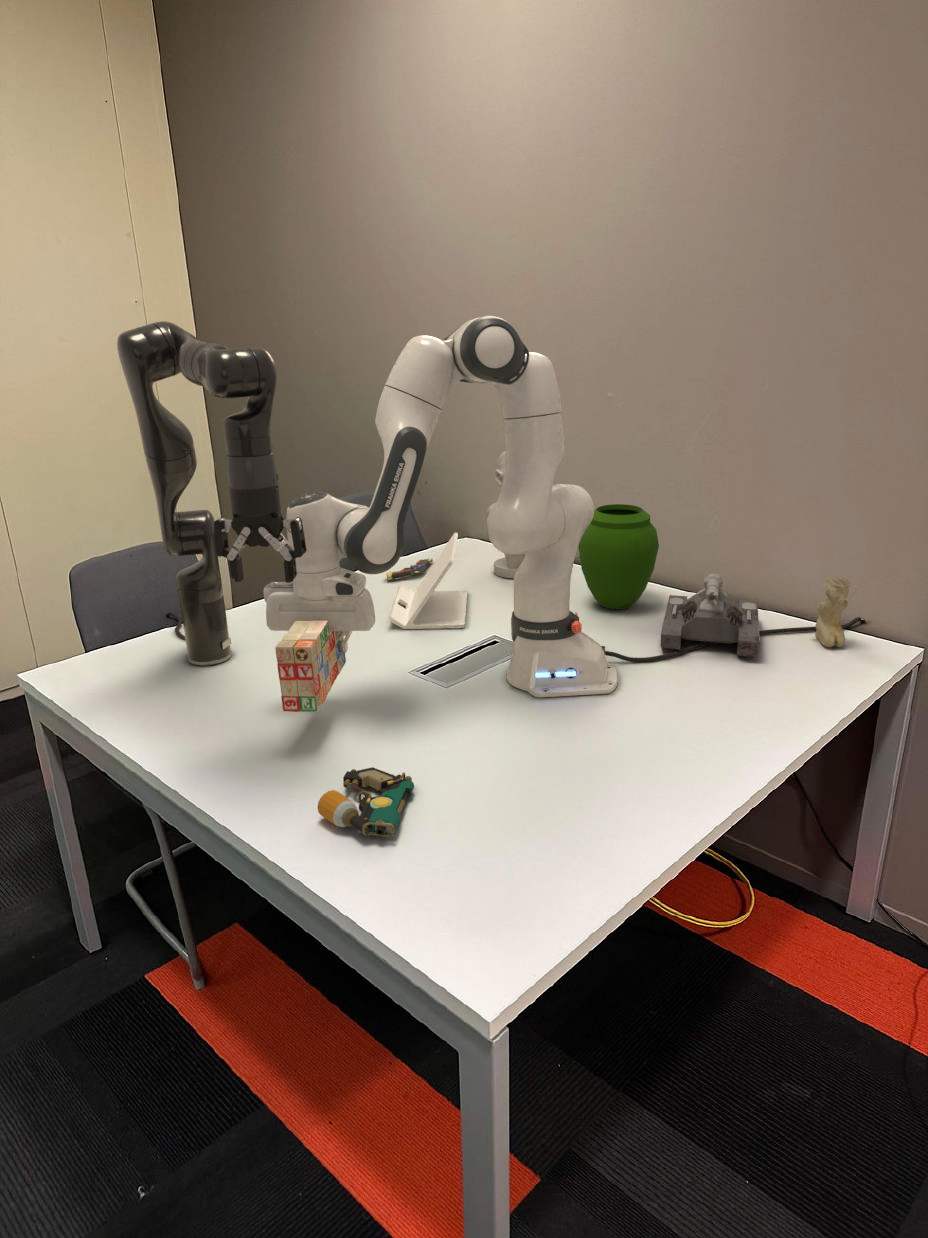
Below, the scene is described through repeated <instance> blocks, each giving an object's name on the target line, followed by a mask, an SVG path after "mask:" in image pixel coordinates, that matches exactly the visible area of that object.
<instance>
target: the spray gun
mask: <svg viewBox="0 0 928 1238" xmlns="http://www.w3.org/2000/svg"><path fill="white" fill-rule="evenodd" d="M342 779H343V780H342V782H343V783H342V784H343V787H344V788H345V789H348V788H349V787H351V789H352V790H353V791H355V792H357V793H358V794H357V800H358V803H359V804H358V807H357V805H356V804H355V803H354V802H353V801H352V800H350V798H348V797H346V796H345V795H344V794H342V793H341V792H340V791H337V790H334V789H332V790H331V789H330V790H328V791H326V792H324V793H323V794H322V795H321V796H320V797H319V799H318V802H317V806H316V807H317V808H316V809H317V812H318V814H319V815H320V817H322V818H324V819H325V820H327V821H329V822H330V823H332V824H333V825H334V826H336V827H340V828H351V827H353V828H355V829H356V830H357V831H358V832H359V833H361V834H362V835H364V836H366V837H367V836H370V835H371V836H378V837H385V838H393V837H394V836H395V833H396V830H397V828H398V826H399V823H400V821H401V818H402V816H401V813H402V811H403V808H404V807H405V805H406V799H407V798H409V797H411V795H412V794H413V792H414V788H415V783H414V781H413V778H412V777H411V776H410V775H406V773H405V772H404V771H403V772H402V773H401V774H397V775H394V774H391V773H389V772H386V771H383V770H381V769H378V768H375V767H374V766H372V767H367V768H363V769H359V770H358V769H355V768H352V769H351V770H350V771H349V770H347V771H346V772H345V774H344V775H343V778H342ZM366 787H371V788H373V789H374V790H375V794H381V795H377V796H372V795H373V794H372V793H371V792H369V791H367V790H365V789H363V788H366ZM362 796H363V797H362ZM358 809H359V811H360V813H359V811H358ZM369 830H370V831H369Z"/></svg>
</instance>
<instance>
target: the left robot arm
mask: <svg viewBox="0 0 928 1238" xmlns="http://www.w3.org/2000/svg"><path fill="white" fill-rule="evenodd" d="M116 348H117V355H118V358H119V359H118V360H119V363H120V365H121V369H122V372H123V375H124V378H125V381H126V384H127V388H128V391H129V394H130V397H131V401H132V404H133V407H134V410H135V414H136V415H135V416H136V418H137V423H138V428H139V433H140V438H141V443H142V449H143V453H144V454H143V455H144V457H145V462H146V466H147V469H148V473H149V476H150V480H151V485H152V488H153V492H154V497H155V501H156V508H157V514H158V515H157V516H158V521H159V528H160V533H161V539H162V544H163V546H164V549H165V551H166V552H167V554H169V555H170V556H173V557H183V556H194V555H196V556H197V555H202V557H201V559H199V560H198V561H197V562H195V563H194V564H192V565H189V566H188V567H185V568H183V569H181V570H180V571H178V572H177V574H176V577H175V581H176V587H177V593H178V594H177V595H178V599H179V605H180V613H181V617H180V616H179V614H176V613H175V612H172V611H168V612H167V613H166V614H165V618H169V617H170V616H171V617H173V618H175V620H177V624H176V626H175V628H174V633H175V634H176V636H178V637H179V638H180V639H181V640H183V641H185V644H186V645H185V646H186V650H187V661H188V663H189V664H191V665H194V666H202V667H203V666H213V665H218V664H221V663H224V662H226V661H227V660H229V659H231V658H232V656H233V652H232V651H233V650H232V649H231V648H232V647H231V645H232V638H231V637H230V633H229V625H228V617H227V610H226V604H225V595H224V589H223V583H222V582H223V580H222V575H221V569H220V562H219V558H221V557H223V558H225V559H227V560H228V563H229V571H230V577H231V578H232V579H234V583H241V582H242V581H244V579H245V578H244V577H245V576H244V567H243V561H242V557H241V556H240V555H241V553H242V552H243V550H244V549H245V548H246V546H248V548H249V547H251V548H252V547H253V548H254V547H257V546H260V547H263V548H264V547H265V548H268V547H269V546H271V547H272V548H273V549H274V550H275V551H276V552H278V553H279V555H281V556H282V558H284V561H283V569H284V578H285V579H284V580H285V582H286V583H291V582H292V581H293V580H294V578H295V577H296V576H297V569H296V558H298V557H301V556H302V555H303V554H304V553H305V552H306V551H307V549H306V542H305V536H304V530H303V524H302V519H301V518H300V517H296V518H295V519H288V520H287V519H284V517H283V515H282V507H281V498H280V496H281V495H280V488H279V474H278V470H277V463H276V460H275V455H274V448H273V446H274V445H273V438H272V429H271V425H272V416H273V408H274V401H275V400H274V399H275V395H276V391H277V382H278V370H277V365H276V363H275V360H274V358H273V357H272V355H271V354H270V352H269V351H267V350H266V349H265V348H263V347H259V346H252V347H236V348H229V347H228V346H226V345H225V344H224V345H223V344H221V343H217V342H213V341H208V340H203V339H199V338H198V337H196V336H194V335H193V334H192V333H190V332H188V331H187V330H185V329H183V328H182V327H181V326H179V325H177V324H175V323H173V322H170V321H165V320H164V321H163V320H162V321H155V322H151V323H148V324H145V325H142V326H138V327H134V328H131V329H128V330H125V331H123V332H121V333H120V334H119V335H118V336H117V341H116ZM180 374H181V375H182V376H183V378H185V379H186V380H187V381H189V382H190V383H192V384H194V385H197V386H199V387H203V388H205V389H206V390H207V391H208V392H209V394H210V395H211V396H213V397H215V398H218V399H239V398H247V401H246V404H245V407H244V408H243V409H241V410H240V411H237V412H235V413H232V414H230V415H227V416H226V417H225V418H224V419H223V423H222V424H223V425H222V430H223V437H224V446H225V454H226V473H227V484H228V491H229V498H230V499H229V500H230V506H231V513H232V519H231V518H230V519H229V518H226V517H225V516H220V517H219V518H217V519H216V520H215V518H214V514H212V512H211V511H210V510H208V509H197V510H184V511H183V510H182V511H176V508H177V506H178V502H179V500H180V499H181V496H182V494H183V493H184V491H185V490H186V488H187V487H188V486H189V484H190V482H191V480H192V479H193V477H194V476H195V473H196V469H197V466H198V463H197V462H198V461H197V453H196V449H195V443H194V439H193V435H192V433H191V431H190V429H189V428H188V427H187V425H185V423H184V422H183V421H181V419H180V418H178V417H177V416H176V415H174V414H173V413H172V412H170V411H169V410H168V409H167V408H166V407H165V406H164V405H163V404H162V403H161V402H160V400H158V399H157V397H156V395H155V392H154V388H153V387H154V384H155V383H156V382H160V381H162V380H165V379H168V378H171V377H175V376H177V375H180ZM231 528H232V530H233V531H234V532H235V533H236V534H237V535H238V537H237V538H236V540H235V541H234V543H233V545H232V547H229V544H230V543H229V532H230V531H231ZM284 528H286V530H287V529H288V532H289V533H292V540H293V546H294V549H293V548H292V547H291V546H290V544H289V543H288V538H286V537H285V535H284V534H283V533H282V532H283V530H284ZM181 626H182V627H183V633H184V635H183V634H182V633H181V632H180V628H181Z"/></svg>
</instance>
